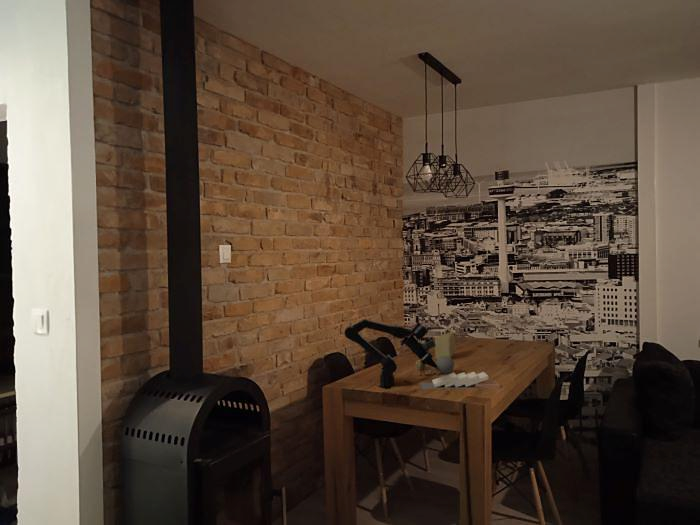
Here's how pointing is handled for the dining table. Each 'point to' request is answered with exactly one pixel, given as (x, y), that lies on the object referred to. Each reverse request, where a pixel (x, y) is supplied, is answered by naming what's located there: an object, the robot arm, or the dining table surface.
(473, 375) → the tile
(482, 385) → the tile
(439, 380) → the tile
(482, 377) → the tile
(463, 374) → the tile
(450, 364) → the decorative ball
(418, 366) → the lion figurine
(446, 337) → the cheese
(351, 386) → the dining table surface
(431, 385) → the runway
